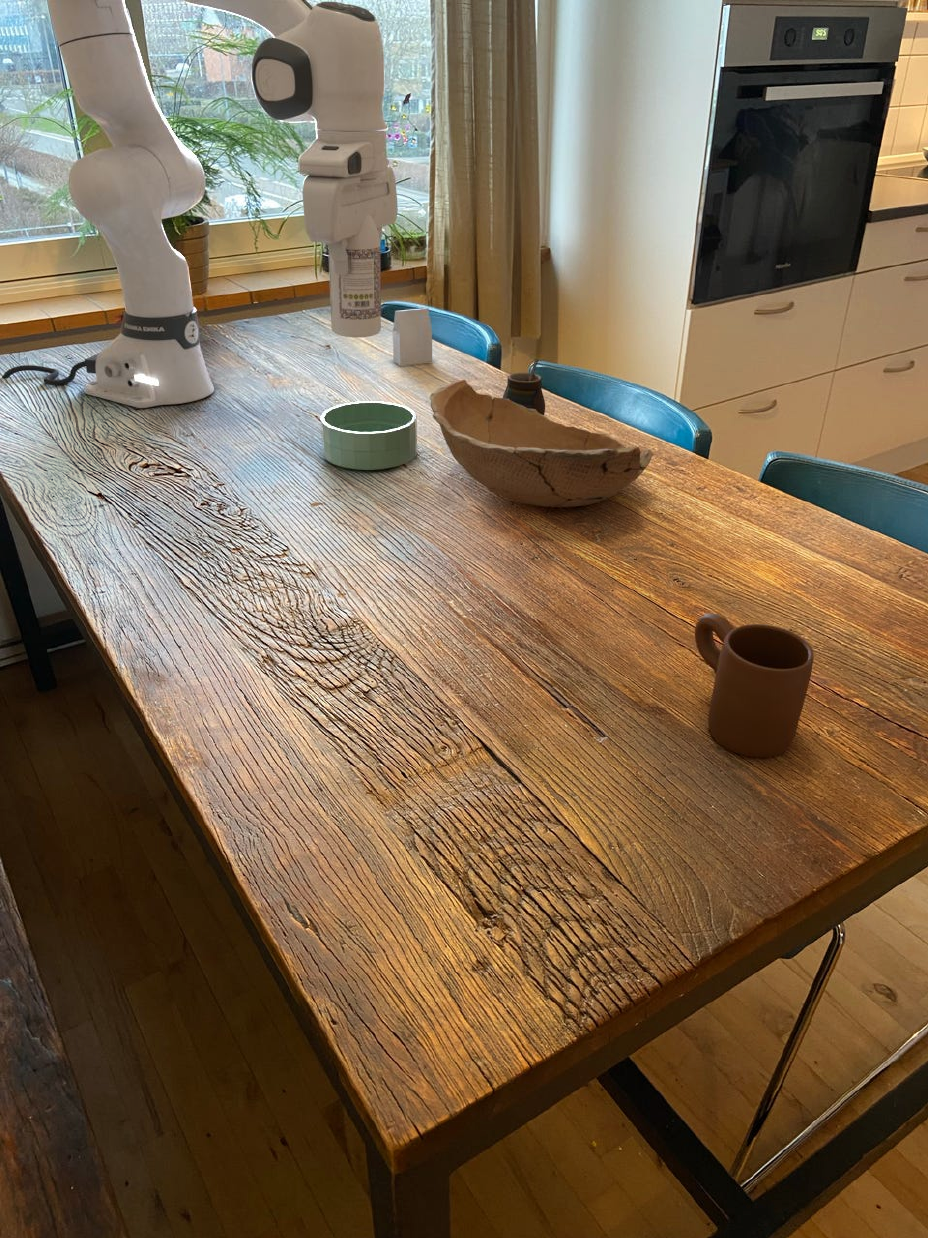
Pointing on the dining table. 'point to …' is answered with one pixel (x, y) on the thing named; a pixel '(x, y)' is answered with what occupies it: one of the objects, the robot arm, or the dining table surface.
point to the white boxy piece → (412, 337)
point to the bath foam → (358, 286)
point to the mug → (754, 684)
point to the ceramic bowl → (531, 451)
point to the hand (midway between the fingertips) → (357, 268)
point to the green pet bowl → (369, 435)
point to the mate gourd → (526, 390)
